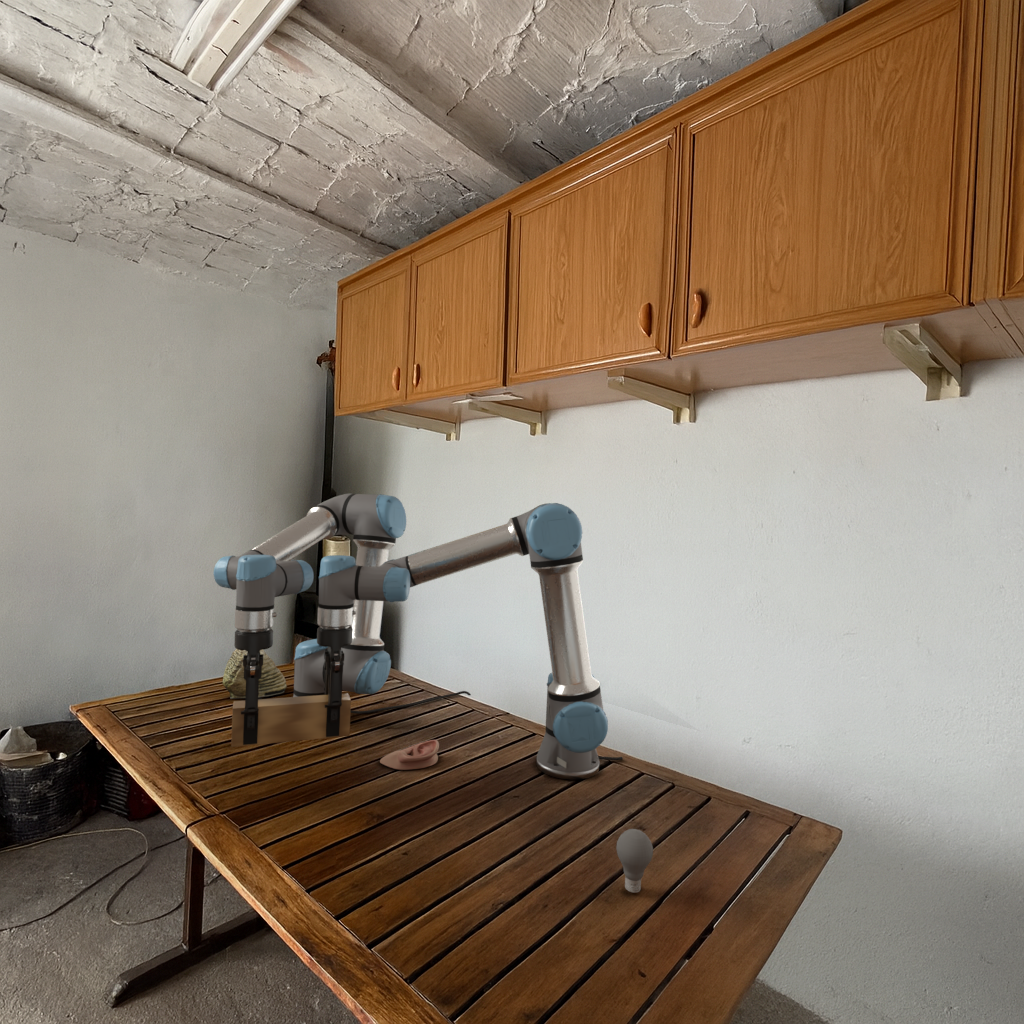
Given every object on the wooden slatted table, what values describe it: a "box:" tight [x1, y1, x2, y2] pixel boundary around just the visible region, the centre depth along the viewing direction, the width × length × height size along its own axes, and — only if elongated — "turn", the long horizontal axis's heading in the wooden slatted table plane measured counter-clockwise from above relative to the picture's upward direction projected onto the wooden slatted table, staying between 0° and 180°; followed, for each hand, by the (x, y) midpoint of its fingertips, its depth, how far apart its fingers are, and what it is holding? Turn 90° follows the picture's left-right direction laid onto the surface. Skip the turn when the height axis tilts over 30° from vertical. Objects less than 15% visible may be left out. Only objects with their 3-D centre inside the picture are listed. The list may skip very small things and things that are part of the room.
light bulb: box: [615, 828, 654, 894], centre depth 106 cm, size 6×6×10 cm
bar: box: [230, 692, 352, 748], centre depth 136 cm, size 24×5×8 cm, turn 111°
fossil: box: [222, 648, 288, 699], centre depth 198 cm, size 9×18×15 cm, turn 132°
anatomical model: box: [379, 739, 440, 771], centre depth 154 cm, size 13×4×12 cm
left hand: (250, 738), depth 134 cm, fingers closed on bar, 5 cm apart
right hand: (331, 731), depth 140 cm, fingers closed on bar, 5 cm apart
